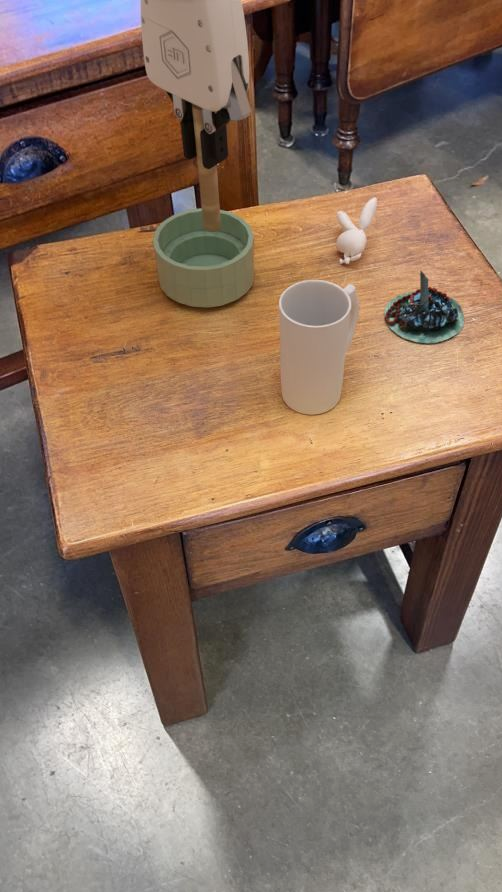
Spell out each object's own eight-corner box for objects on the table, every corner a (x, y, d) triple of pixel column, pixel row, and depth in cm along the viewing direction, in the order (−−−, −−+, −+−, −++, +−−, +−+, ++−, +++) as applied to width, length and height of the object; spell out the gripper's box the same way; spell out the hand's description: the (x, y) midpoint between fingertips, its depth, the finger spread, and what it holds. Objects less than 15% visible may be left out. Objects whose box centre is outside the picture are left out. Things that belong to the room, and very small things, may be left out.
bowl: (208, 326, 93) (204, 283, 88) (139, 284, 97) (132, 240, 92) (274, 278, 98) (273, 234, 93) (205, 240, 102) (202, 196, 97)
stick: (212, 234, 92) (202, 112, 81) (199, 227, 93) (187, 105, 81) (224, 226, 93) (216, 103, 82) (212, 219, 94) (201, 97, 82)
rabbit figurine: (320, 263, 100) (330, 202, 101) (339, 277, 103) (349, 218, 104) (360, 253, 96) (370, 190, 97) (379, 268, 99) (388, 207, 100)
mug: (312, 427, 84) (317, 337, 74) (265, 394, 87) (263, 303, 77) (376, 377, 88) (388, 286, 79) (329, 346, 91) (335, 255, 81)
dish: (420, 336, 88) (421, 266, 89) (376, 348, 94) (377, 282, 94) (473, 347, 93) (473, 280, 93) (428, 357, 99) (428, 295, 99)
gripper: (94, -53, 72) (127, 145, 87) (227, 1, 67) (238, 204, 81) (156, -78, 76) (177, 117, 91) (288, -30, 70) (287, 171, 85)
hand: (206, 156), depth 86 cm, fingers closed on stick, 2 cm apart
